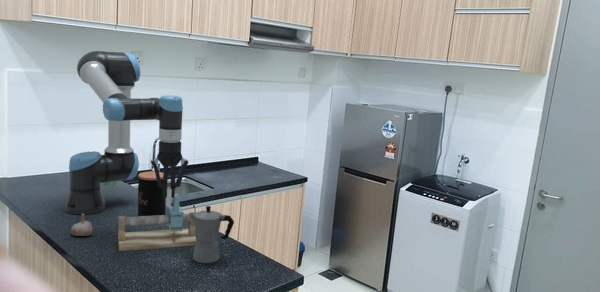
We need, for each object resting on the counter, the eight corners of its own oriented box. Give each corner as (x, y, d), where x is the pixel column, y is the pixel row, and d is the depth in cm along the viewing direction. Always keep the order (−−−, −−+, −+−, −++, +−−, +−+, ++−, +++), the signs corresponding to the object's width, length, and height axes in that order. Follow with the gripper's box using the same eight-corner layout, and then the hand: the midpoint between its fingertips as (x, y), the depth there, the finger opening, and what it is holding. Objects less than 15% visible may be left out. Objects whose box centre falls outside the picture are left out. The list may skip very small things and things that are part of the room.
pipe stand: (118, 236, 169) (118, 211, 167) (191, 231, 179) (192, 207, 177) (118, 251, 157) (119, 223, 155) (197, 245, 167) (198, 219, 165)
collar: (168, 224, 172) (169, 193, 170) (179, 224, 173) (180, 192, 171) (170, 231, 165) (171, 199, 163) (182, 231, 167) (183, 198, 165)
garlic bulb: (96, 236, 168) (96, 215, 166) (74, 240, 163) (74, 218, 162) (89, 229, 174) (89, 209, 172) (67, 233, 169) (67, 212, 167)
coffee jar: (135, 214, 193) (136, 171, 189) (162, 212, 198) (163, 170, 194) (139, 223, 183) (140, 178, 180) (167, 220, 188) (168, 177, 185)
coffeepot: (181, 260, 154) (183, 208, 150) (192, 249, 163) (194, 199, 159) (227, 267, 152) (230, 213, 148) (235, 255, 161) (238, 205, 158)
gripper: (151, 142, 157) (150, 210, 161) (191, 142, 162) (188, 208, 166) (149, 138, 163) (148, 203, 168) (187, 138, 168) (185, 201, 173)
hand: (168, 205), depth 167 cm, fingers closed
